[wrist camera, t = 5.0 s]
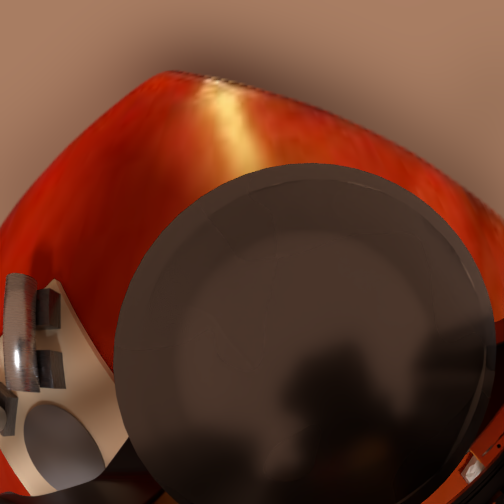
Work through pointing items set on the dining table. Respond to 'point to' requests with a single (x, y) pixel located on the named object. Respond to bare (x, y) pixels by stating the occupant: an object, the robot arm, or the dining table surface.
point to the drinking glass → (305, 344)
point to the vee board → (65, 414)
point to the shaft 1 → (7, 411)
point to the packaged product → (472, 469)
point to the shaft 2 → (30, 335)
